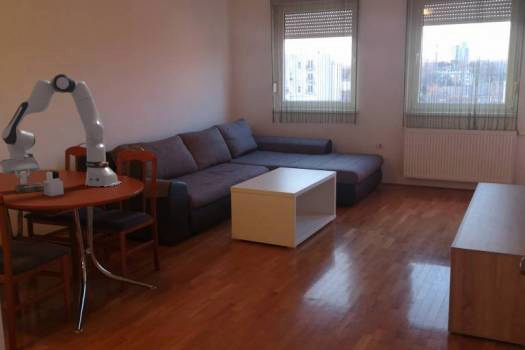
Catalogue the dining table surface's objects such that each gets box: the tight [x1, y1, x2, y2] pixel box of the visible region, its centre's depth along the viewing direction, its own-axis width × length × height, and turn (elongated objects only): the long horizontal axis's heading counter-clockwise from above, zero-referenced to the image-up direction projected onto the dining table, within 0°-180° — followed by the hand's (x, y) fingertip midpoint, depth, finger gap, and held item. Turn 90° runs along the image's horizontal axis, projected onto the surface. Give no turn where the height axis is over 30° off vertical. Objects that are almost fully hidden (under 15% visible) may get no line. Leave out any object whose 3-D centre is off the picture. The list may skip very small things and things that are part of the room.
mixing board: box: [14, 181, 44, 194], centre depth 311 cm, size 20×11×3 cm, turn 126°
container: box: [42, 170, 64, 197], centre depth 298 cm, size 8×8×13 cm
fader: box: [18, 171, 30, 187], centre depth 306 cm, size 4×5×8 cm
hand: (23, 177), depth 306 cm, fingers closed on fader, 3 cm apart
